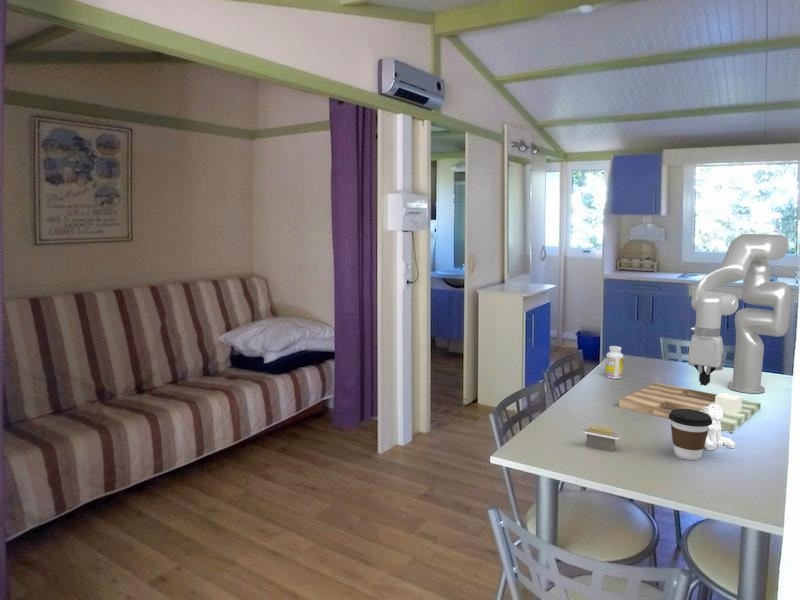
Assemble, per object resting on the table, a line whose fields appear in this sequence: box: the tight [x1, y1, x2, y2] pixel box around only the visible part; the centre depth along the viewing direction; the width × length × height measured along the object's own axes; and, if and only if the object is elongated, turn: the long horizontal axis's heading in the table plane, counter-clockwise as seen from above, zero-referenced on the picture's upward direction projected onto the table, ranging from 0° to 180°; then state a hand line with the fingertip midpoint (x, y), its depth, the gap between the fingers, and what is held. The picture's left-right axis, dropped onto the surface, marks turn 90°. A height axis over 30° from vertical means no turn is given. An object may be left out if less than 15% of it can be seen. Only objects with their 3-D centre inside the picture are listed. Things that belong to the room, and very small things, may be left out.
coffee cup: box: [668, 409, 712, 461], centre depth 167 cm, size 11×11×12 cm
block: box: [715, 392, 743, 415], centre depth 200 cm, size 6×6×5 cm
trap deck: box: [618, 382, 762, 433], centre depth 210 cm, size 32×36×2 cm
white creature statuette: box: [702, 404, 737, 451], centre depth 176 cm, size 10×9×12 cm
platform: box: [582, 424, 620, 453], centre depth 173 cm, size 12×18×7 cm, turn 58°
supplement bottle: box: [605, 345, 624, 380], centre depth 250 cm, size 7×7×13 cm
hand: (704, 384), depth 207 cm, fingers closed
